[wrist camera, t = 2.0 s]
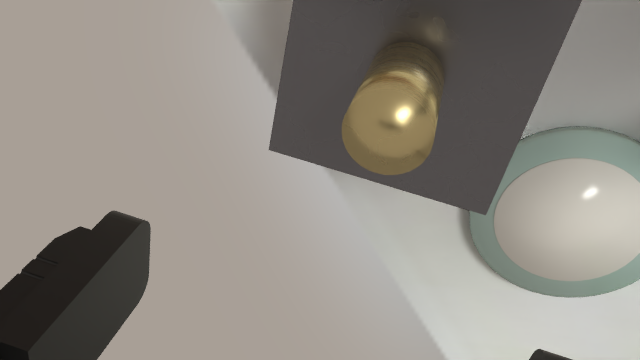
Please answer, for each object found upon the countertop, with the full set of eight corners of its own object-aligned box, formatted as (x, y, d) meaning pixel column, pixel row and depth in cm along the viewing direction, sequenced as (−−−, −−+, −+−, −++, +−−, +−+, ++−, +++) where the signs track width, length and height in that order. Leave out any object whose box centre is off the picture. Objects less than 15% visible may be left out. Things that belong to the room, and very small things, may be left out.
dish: (721, 161, 32) (728, 171, 31) (619, 309, 39) (622, 321, 38) (509, 102, 33) (510, 110, 32) (445, 255, 40) (444, 265, 39)
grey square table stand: (557, -65, 29) (615, 26, 15) (486, 112, 34) (484, 292, 21) (363, -113, 30) (261, -66, 16) (326, 66, 35) (226, 210, 22)
